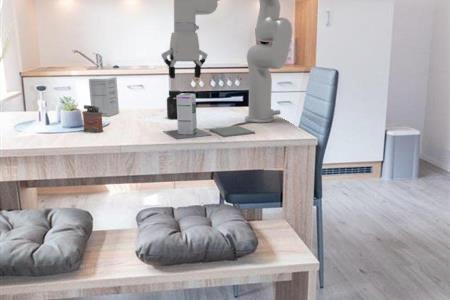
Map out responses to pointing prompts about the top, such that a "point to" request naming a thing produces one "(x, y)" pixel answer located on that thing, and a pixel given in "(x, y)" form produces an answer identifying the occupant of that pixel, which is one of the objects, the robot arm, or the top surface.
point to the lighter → (92, 119)
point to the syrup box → (186, 113)
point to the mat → (231, 131)
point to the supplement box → (104, 95)
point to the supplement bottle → (172, 104)
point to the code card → (181, 136)
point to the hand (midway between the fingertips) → (185, 77)
